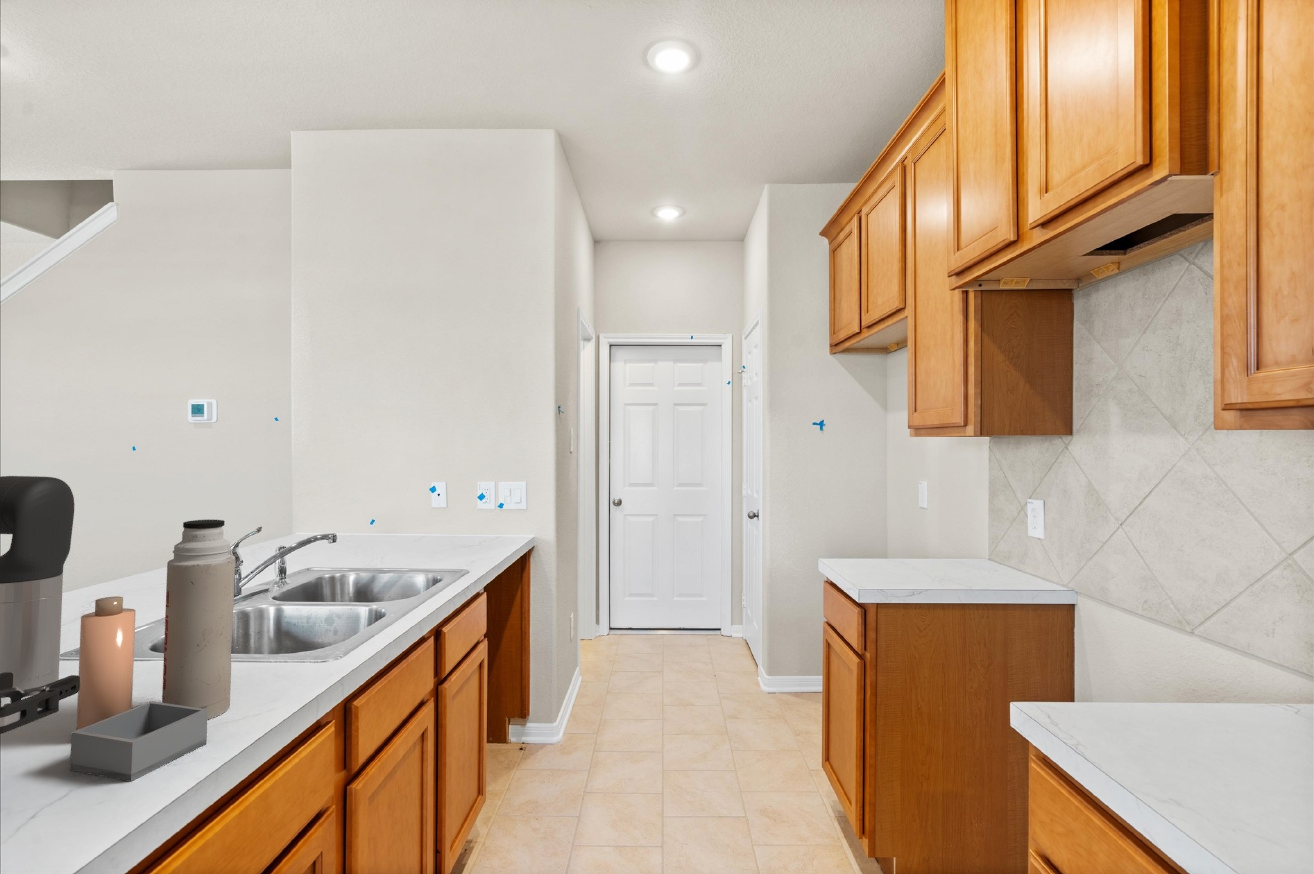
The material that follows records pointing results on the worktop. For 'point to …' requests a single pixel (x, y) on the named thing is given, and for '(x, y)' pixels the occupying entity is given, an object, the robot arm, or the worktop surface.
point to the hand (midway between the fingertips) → (43, 681)
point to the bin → (138, 740)
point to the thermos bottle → (199, 619)
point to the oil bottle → (105, 661)
